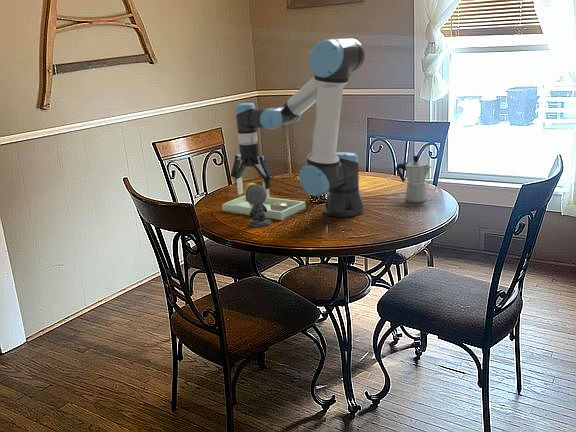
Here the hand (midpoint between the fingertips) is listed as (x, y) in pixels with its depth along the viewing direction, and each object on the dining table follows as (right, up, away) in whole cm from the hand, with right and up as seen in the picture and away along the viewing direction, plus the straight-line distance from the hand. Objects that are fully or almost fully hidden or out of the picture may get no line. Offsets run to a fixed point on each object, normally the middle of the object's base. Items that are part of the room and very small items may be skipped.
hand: (253, 195), depth 235 cm
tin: (+11, -6, -6) cm, 14 cm away
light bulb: (0, -5, +2) cm, 5 cm away
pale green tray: (+4, -6, -1) cm, 7 cm away
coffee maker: (+65, -2, 0) cm, 65 cm away
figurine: (+3, -11, -18) cm, 22 cm away
